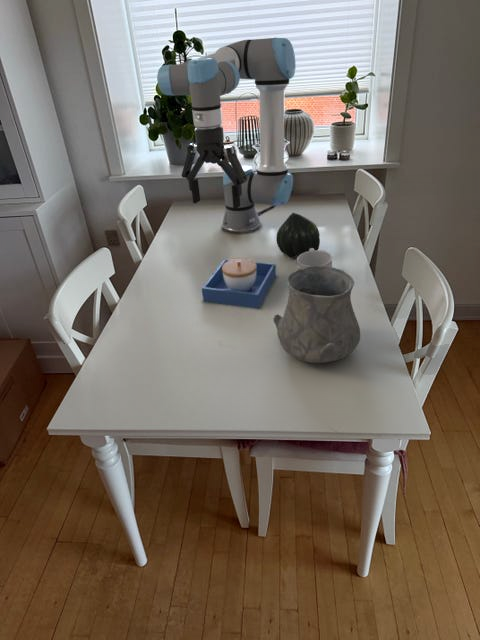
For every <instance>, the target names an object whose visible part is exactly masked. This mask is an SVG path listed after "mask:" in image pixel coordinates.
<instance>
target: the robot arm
mask: <svg viewBox="0 0 480 640" xmlns="http://www.w3.org/2000/svg"><path fill="white" fill-rule="evenodd" d="M293 47H294V46H293V44H292V42H291V40H289V39H288V38H286V37H268V38H266V37H265V38H252V39H249V38H248V39H242V40H239V41H236V42H233V43H230V44H227V45H225V46H221V47H219V48H218V49H217V50H216V51H215V52H214V53H211V54H208V55H204V56H201V57H197V58H192V59H190V60H187V61H185V62H182V63H178V64H166V65H162V66H159V68H158V71H157V75H156V76H157V78H156V81H157V86H158V89H159V91H160V92H161V94H163V95H165V96H173V97H175V96H190V102H191V112H192V120H193V126H194V127H195V128H194V139H195V142H196V143H195V142H192V143H190V144H188V145H187V147H186V151H187V154H186V157H185V161H184V164H183V167H182V168H183V169H182V172H181V177H182V178H183V179H186V180H187V182H188V188H189V191H190V192H191V197H192V203H193V204H197V203H199V202H201V193H200V187H199V185H200V184H199V178H198V177H197V176H198V173H199V171H200V170H201V168H202V167H203V166H204V164H212V165H213V164H215V165H217V166H218V167H220V168H221V169H222V171H223V175H222V187H223V194H224V195H223V196H224V205H225V207H224V208H225V210H224V214H223V218H222V229H223V230H224V231H225V232H227V233H231V234H248V233H252V232H254V231H257V230H258V229H259V228H260V227H261V221H260V217H259V214H261V213H264V212H266V211H268V210H270V209H271V208H273V207H274V206H284V205H286V204H287V203H288V202H289V200H290V198H291V194H292V193H293V192H294V191H293V187H294V186H293V185H294V176H293V174H292V173H290V172H289V167H288V166H287V165H286V164H285V159H284V158H285V96H286V95H285V90H286V89H287V88H288V87H289V85H290V80H291V79H293V78H294V76H295V75H296V66H297V65H296V64H297V63H296V55H295V51H294V50H295V49H294V48H293ZM240 80H254V87H255V88H256V89H257V90H258V92H259V93H258V94H259V154H260V156H259V159H260V163H259V165H258V166H257V167H256V169H255V171H254V168H253V167H252V166H250V165H242V164H241V162H240V160H239V158H238V156H237V154H236V148H235V145H230V146H225V144H224V142H225V141H224V140H225V137H224V136H225V135H224V126H222V124H223V113H222V103H221V97H222V96H224V95H229V94H230V93H231V92H233V91H235V90H236V89H237V88H238V86H239V85H240V84H239V83H240ZM197 153H198V157H197V159H196V161H195V157H196V154H197ZM226 156H227V157H226ZM194 161H195V163H194ZM193 164H194V165H193ZM196 177H197V178H196ZM256 204H258V205H270V206H268V207H266V208H264V209H262V210H260V211H257V209H256V206H255V205H256Z"/></svg>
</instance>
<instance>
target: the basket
mask: <svg viewBox="0 0 480 640" xmlns="http://www.w3.org/2000/svg"><path fill="white" fill-rule="evenodd" d="M230 260H231V259H228V258H224V259H223V260H222V262H221V263H220V264H219V266H218V267H216V269H215V271H214V272H213V273H212V274H211V275H210V277H209V278H208V279H207V281H206V282H205V284H203V286H202V287H201V294H202V301H203V303H208V304H209V303H211V304H218V305H225V306H232V307H233V306H234V307H241V308H250V309H256V310H257V309H260V307H261V305H262V303H263V302H264V300H265V298H266V296H267V294H268V292H269V291H270V289H271V287H272V285H273V283H274V282H275V280H276V278H277V268H276V267H277V266H276V265H277V264H276V263H269V262H259V261H254V262H255V263H256V265H257V275H256V281H255V283H254V285H253V286H252V287H251V288H250V290H249V291H247V292H242V291H233V290H231V289H230V288H229V287H228V286H227V285H226V283H225V281H224V278H223V272H222V266H223V264H224V263H226V262H228V261H230Z"/></svg>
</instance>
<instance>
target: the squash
mask: <svg viewBox="0 0 480 640" xmlns="http://www.w3.org/2000/svg"><path fill="white" fill-rule="evenodd" d="M275 239H276V241H275V242H276V245H277V247H278V249H279V251H280V252H282V254H284V255H285V256H287V257H288V258H291V259H294V258H296V257H297V258H298V256H299V255H300V254H302V253H304V252H307V251H309V249H310V248H314V251H315V250H320V244H321V238H320V231H319V228H318V226H317V225H316V223H315V222H314V221H312V220H310V219H309V218H307V217H305V216H303V215H301V214H299V213H296V212H292V213H291V214H290V215H289V216H288V217H287V218H286V220H285V221H284V222H283V223H282V224H281V226H280V227H279V228H278V231H277V233H276V237H275Z"/></svg>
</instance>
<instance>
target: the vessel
mask: <svg viewBox="0 0 480 640" xmlns="http://www.w3.org/2000/svg"><path fill="white" fill-rule="evenodd" d="M286 284H287V288H288V299H287V303H286V306H285V309H284V313H283V316H281V315H280V314H279V313H278V314H275V315H274V317H273V323H274V325H275V328H276V332H277V338H278V340H279V341H278V342H279V343H280V346H281V347H282V349H283V350H284V351H285V352H286V353H287V354H288V355H290V356H292V357H293V358H294V359H296V360H298V361H300V362H306V363H310V364H325V363H330V362H331V363H332V362H336V361H338V360H341V359H343V358H346V357H347V356H349V355H350V354H351V353H352V352H354V351H355V349H356V348H357V347H358V345H359V343H360V342H361V341H360V340H361V328H360V325H359V322H358V319H357V316H356V314H355V311H354V308H353V304H352V298H351V295H352V290H353V288H354V284H355V281H354V278H353V277H352V276H351V275H349V274H348V273H347V272H346V271H344V270H342V269H339V268H336V267H333V266H332V267H326V266H309V267H305V268H302V269H298V268H297V270H295V271H293V272H291V273H290V274H289V275H288V276H287V278H286Z"/></svg>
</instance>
